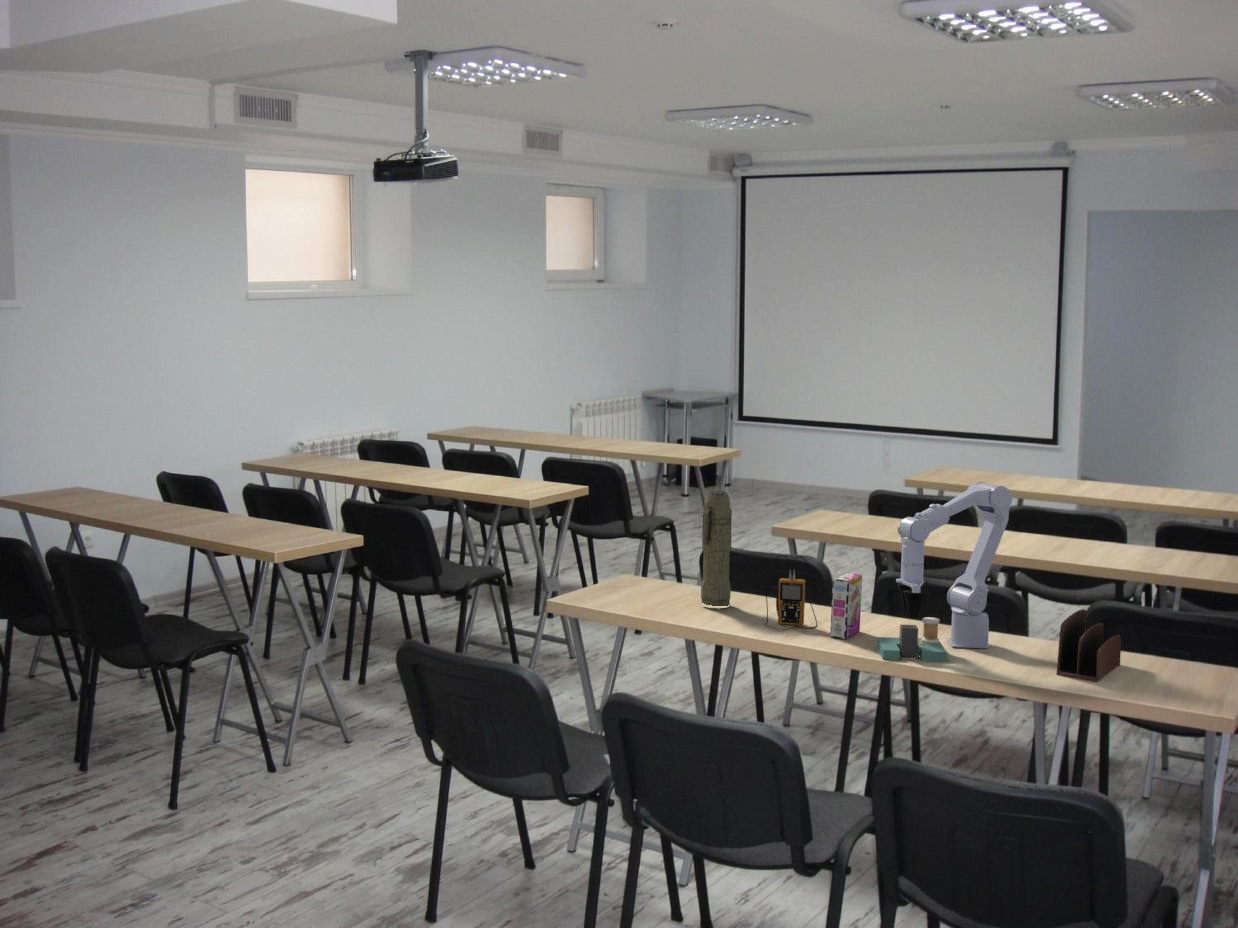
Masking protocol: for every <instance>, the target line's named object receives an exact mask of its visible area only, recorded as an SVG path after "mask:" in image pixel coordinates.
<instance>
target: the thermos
mask: <svg viewBox="0 0 1238 928" xmlns="http://www.w3.org/2000/svg"><path fill="white" fill-rule="evenodd" d="M732 512H733V511H732V507H731V501H730V497H729V494H728V493H727V492H726V491H725V490H724V491H722V490H711V491H710V492H707V494H706V496H705V500H704V510H703V513H702V531H701V532H702V534H701V535H702V537H701V539H702V540H701V542H702V543H701V548H702V552H703V562H702V564H703V565H702V567H703V568H702V569H703V570H702V580H701V584H700V599H701V603H704V604H706V605H712V606H728V605H730V603H731V602H730V600H731V593H732V590H731V589H732V588H731V587H732V586H731V582H730V554H731V550H732V534H733V533H732V522H733V521H732V519H733V518H732V516H733V515H732V514H733V513H732ZM730 606H731V605H730Z"/></svg>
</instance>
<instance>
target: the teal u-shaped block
mask: <svg viewBox="0 0 1238 928" xmlns="http://www.w3.org/2000/svg"><path fill="white" fill-rule="evenodd" d="M940 620H941V619H940V618H937V617H931V616H930V617H929V616H927V617H923V618H922V623H923V635H922V637H921V638H919V637H918V646H917V656H918V657H919V656H920V657H919V659H920V658H921V659H920V660H921V661H922V660H927V661H926V662H947V660H948V658H947V657H948V655H947V654H948V651H947V650H946V648H945V647H944V646H943V644H942V643H941V642H940V639H939V638H938V633H939V632H938V631H939V629H938V628H939V624H940V622H941V621H940ZM899 642H900V637H891V636H890V637H889V636H888V637H887V636H885V637H883V636H876V648H877V650H878V652H879V654H880V656H881V658H882V659H883V661H884V660H886V661H887V660H889V661H890V660H891V661H900V659H901V657H900V650H899Z"/></svg>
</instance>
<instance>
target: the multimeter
mask: <svg viewBox="0 0 1238 928" xmlns="http://www.w3.org/2000/svg"><path fill="white" fill-rule="evenodd" d="M782 557H784V558H786V559H787V560H788V561H789V565H790V566H789V576H788V578H783V577H782V578H779V580H778V585H777V589H776V597H775V598H776V601H775V602H776V603H775V606H776V614H777V624H778V625H779V624H782V625H787V626H789V627H783V628H780V627H776V625H775V626H774V625H772V624H771V625H770V624H768V622H769V608H768V607H769V606H768V605H769V604H768V589H767V588H768V580H769V576H770V572H771V568H772V566H773V564H774V561H775V560H776V559H777V558H782ZM797 558H802V560H804V562H805V563H806V565H807V568H808V576H810V575H811V574H810V569H811V568H810V566H809V563H808V561H807V560H806V559H805V557H803V556H801V555H797V556H796V557H795V558H794V561H793V571H792V561H791V559H789V557H787V556H785V555H778V556H775V558H774V559H773V560H772V562H771V564H770V566H769V569H768V573H767V576H766V583H765V600H766V602H765V603H766V622H765V624H766V625H767V627H768V628H772V627H773V628H772V629H778V630H779V631H782V630H783V631H785V630H790V629H792V628H793V629H794V628H798V629H805V627H803V625H804V624H805V607H806V606H805V603H806V595H807V598H808V601H809V604H810V607H811V610H812V613H813V616H814V618H815V623H816V625H815V626H813V627H806V629H815V628H817V627H818V622H817V617H816V614H815V611H814V608H813V604H812V602H811V599H810V596H809V592H808V591H809V584H810V577H808V579H807V587H806V580H805V579H802V578H799V579H798V578H796V574H795V573H796V570H795V567H796V561H797ZM792 572H793V574H792ZM765 624H764V625H765ZM790 626H791V627H790Z"/></svg>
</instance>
